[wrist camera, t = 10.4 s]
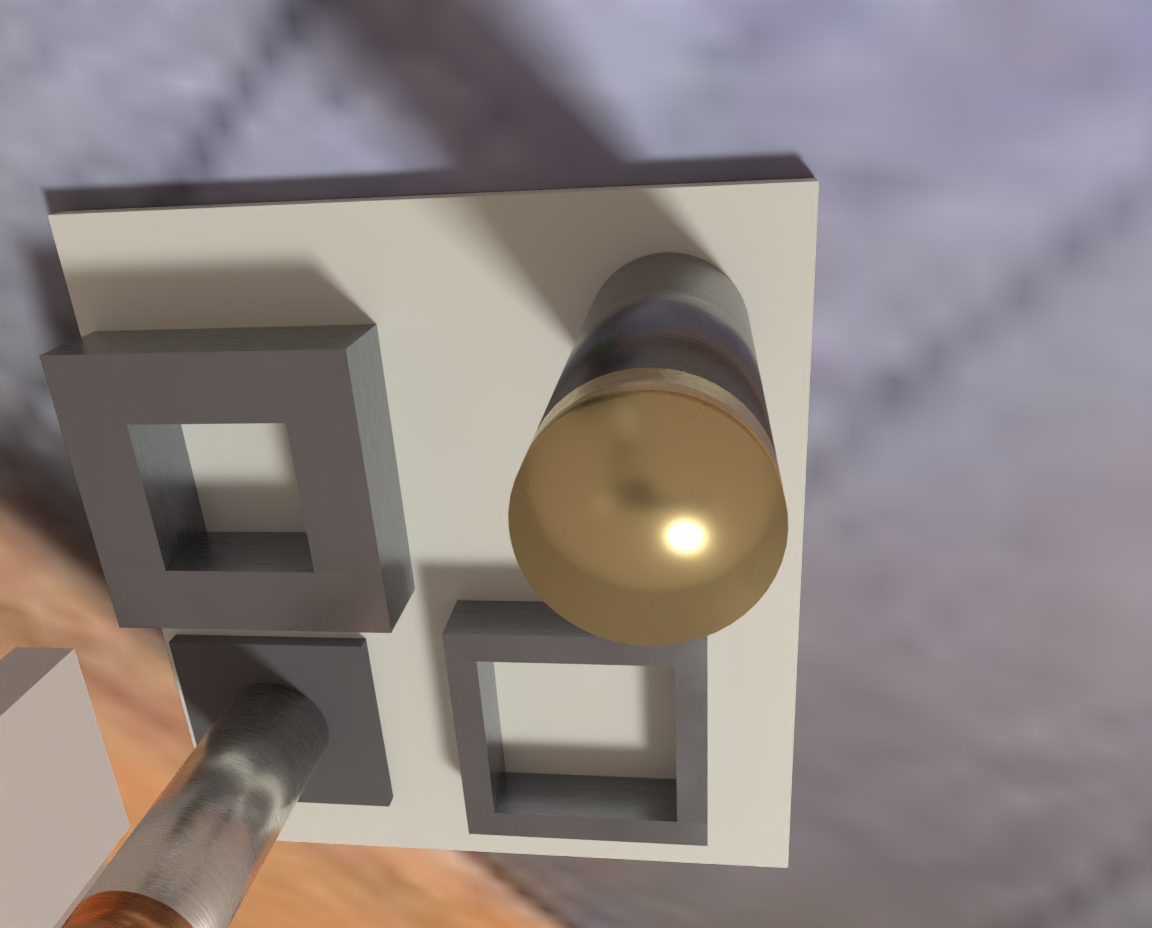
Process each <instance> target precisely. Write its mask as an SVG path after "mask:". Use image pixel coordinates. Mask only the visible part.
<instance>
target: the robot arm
mask: <svg viewBox="0 0 1152 928" xmlns="http://www.w3.org/2000/svg"><path fill="white" fill-rule="evenodd" d="M129 827H130V825H129V822H128V819H127V816H126V812H125V809H124V806H123V803H122V800H121V796H120V793H119V790H118V787H117V784H116V780H115V777H114V774H113V771H112V768H111V764H110V761H109V758H108V755H107V752H106V748H105V745H104V742H103V739H102V736H101V732H100V729H99V726H98V723H97V720H96V716H95V713H94V710H93V707H92V704H91V700H90V697H89V694H88V691H87V688H86V684H85V681H84V678H83V675H82V672H81V668H80V665H79V662H78V659H77V656H76V653H75V649H74V648H37V647H15V648H14V649H13V650H12V651H11V652H9V653H8V654H7V655H6V656H5V657H3V658H2V659H1V660H0V928H53V927H54V926H55V925H56V923H57V922H58V921H59V919H60V918H61V917H62V915H63V914H64V913H65V911H66V910H67V909H68V907H69V906H70V905H71V903H72V902H73V901H74V899H75V898H76V897H77V895H78V894H79V893H80V891H81V890H82V889H83V888H84V886H85V885H86V884H87V882H88V881H89V880H90V878H91V877H92V876H93V875H94V873H95V872H96V871H97V869H98V868H99V867H100V865H101V864H102V863H103V861H104V860H105V859H106V857H107V856H108V855H109V853H110V852H111V851H112V849H113V848H114V847H115V846H116V844H117V843H118V842H119V840H120V839H121V838H122V836H123V835H124V834H125V832H126V831H127V830H128V828H129Z"/></svg>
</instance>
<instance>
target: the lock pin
mask: <svg viewBox="0 0 1152 928" xmlns="http://www.w3.org/2000/svg"><path fill="white" fill-rule="evenodd" d="M328 741H329V730H328V726H327V722H326V720H325V718H324V716H323V714H322V712H321V711H320V710H319V708H318V707H317V706H316V705H315V704H314V703H313V702H312V701H311V700H310V699H309V698H308V697H306V696H305V695H304V694H302V693H300V692H299V691H297V690H295V689H293V688H290V687H288V686H284V685H281V684H275V683H258V684H253V685H250V686H247V687H245V688H243V689H242V690H240V691H239V692H238V693H236V694H235V695H234V697H233V698H232V699H231V701H230V702H229V703H228V705H227V706H226V707H225V709H224V710H223V711H222V713H221V714H220V715H219V717H218V718H217V719H216V721H215V722H214V723H213V725H212V726H211V727H210V729H209V730H208V731H207V733H206V734H205V735H204V737H203V738H202V739H201V741H200V742H199V744H198V745H197V746H196V748H195V749H194V750H193V752H192V753H191V754H190V756H189V757H188V758H187V760H186V761H185V762H184V764H183V765H182V766H181V768H180V769H179V770H178V772H177V773H176V774H175V776H174V777H173V778H172V780H171V781H170V782H169V784H168V785H167V786H166V788H165V789H164V790H163V792H162V793H161V794H160V796H159V797H158V798H157V800H156V801H155V803H154V804H153V805H152V807H151V808H150V809H149V811H148V812H147V813H146V815H145V816H144V817H143V819H142V820H141V821H140V823H139V824H138V825H137V827H136V828H135V829H134V831H133V832H132V833H131V835H130V836H129V837H128V839H127V840H126V841H125V843H124V844H123V845H122V847H121V848H120V849H119V851H118V852H117V853H116V855H115V856H114V857H113V859H112V860H111V862H110V863H109V864H108V866H107V867H106V868H105V870H104V871H103V872H102V874H101V875H100V876H99V878H98V879H97V881H96V882H95V883H94V884H93V886H92V887H91V888H90V890H89V891H88V892H87V894H86V895H85V896H84V898H83V899H82V900H81V902H80V903H79V904H78V906H77V907H76V908H75V910H74V911H73V913H72V914H71V915H70V916H69V918H68V919H67V920H66V922H65V923H64V925H63V926H62V927H61V928H228V926H229V925H230V923H231V921H232V919H233V917H234V916H235V914H236V912H237V910H238V908H239V906H240V905H241V903H242V901H243V899H244V897H245V896H246V894H247V892H248V890H249V888H250V886H251V885H252V883H253V881H254V879H255V877H256V876H257V874H258V872H259V870H260V868H261V866H262V865H263V863H264V861H265V859H266V857H267V856H268V854H269V852H270V850H271V848H272V846H273V845H274V843H275V841H276V839H277V837H278V836H279V834H280V832H281V830H282V828H283V826H284V825H285V823H286V821H287V819H288V817H289V816H290V814H291V812H292V810H293V808H294V806H295V805H296V803H297V801H298V799H299V797H300V796H301V794H302V792H303V790H304V788H305V786H306V785H307V783H308V781H309V779H310V777H311V776H312V774H313V772H314V770H315V768H316V766H317V765H318V763H319V761H320V759H321V757H322V756H323V754H324V752H325V750H326V748H327V745H328Z"/></svg>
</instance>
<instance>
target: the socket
mask: <svg viewBox="0 0 1152 928" xmlns="http://www.w3.org/2000/svg"><path fill="white" fill-rule="evenodd" d="M442 637H443V645H444V652H445V660H446V667H447V674H448V682H449V689H450V697H451V704H452V712H453V719H454V727H455V734H456V741H457V749H458V756H459V764H460V771H461V779H462V786H463V794H464V801H465V808H466V816H467V823H468V831H469V834H481V835H500V836H520V837H539V838H559V839H579V840H598V841H618V842H637V843H657V844H677V845H696V846H708V662H707V636H706V637H703V638H701V639H697V640H693V641H690V642H686V643H681V644H674V645H667V646H641V645H630V644H625V643H620V642H615V641H611V640H608V639H605V638H602V637H598V636H596V635H594V634H591V633H589V632H587V631H584V630H582V629H581V628H579V627H577V626H575V625H574V624H572V623H570V622H568V621H567V620H566V619H564V618H563V617H561V616H560V615H559V614H557V613H556V612H555V611H554V610H552V609H551V608H550V607H549V606H548V605H547V604H546V603H545V602H544V601H484V600H457V602H456V604H455V606H454V609H453V611H452V613H451V615H450V618H449V620H448V622H447V624H446V626H445V629H444V631H443V633H442ZM494 662H513V663H552V664H592V665H631V666H671V667H674V668H675V725H676V779H662V778H638V777H614V776H590V775H566V774H542V773H518V772H506V770H505V761H504V752H503V743H502V734H501V725H500V716H499V707H498V698H497V688H496V679H495V670H494Z"/></svg>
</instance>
